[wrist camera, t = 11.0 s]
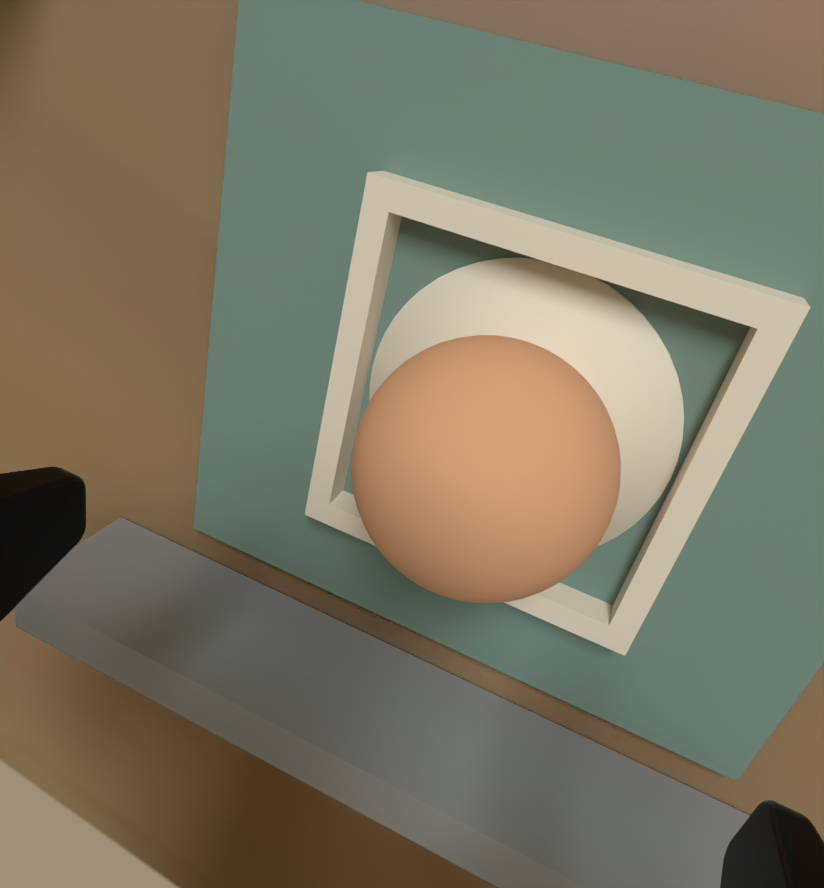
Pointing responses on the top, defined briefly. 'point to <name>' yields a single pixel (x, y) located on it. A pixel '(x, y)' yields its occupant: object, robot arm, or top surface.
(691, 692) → the resting mat
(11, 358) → the top surface
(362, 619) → the top surface
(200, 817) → the top surface
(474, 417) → the ball
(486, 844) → the gray wall
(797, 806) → the top surface
